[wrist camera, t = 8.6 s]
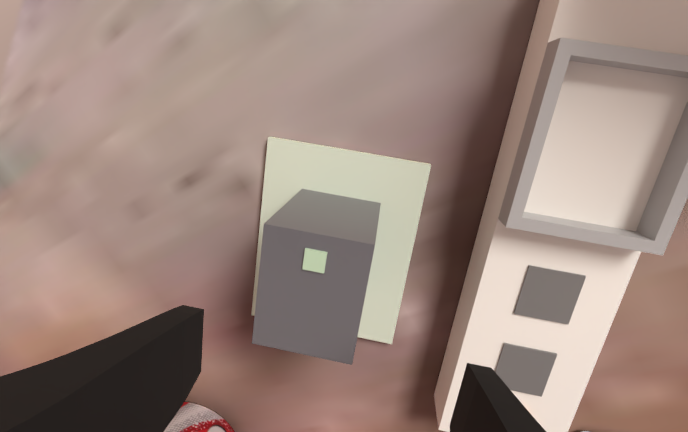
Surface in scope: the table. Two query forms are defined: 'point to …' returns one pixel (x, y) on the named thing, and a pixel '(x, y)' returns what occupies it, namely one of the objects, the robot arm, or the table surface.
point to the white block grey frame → (574, 199)
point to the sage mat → (361, 183)
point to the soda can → (197, 420)
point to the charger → (315, 274)
